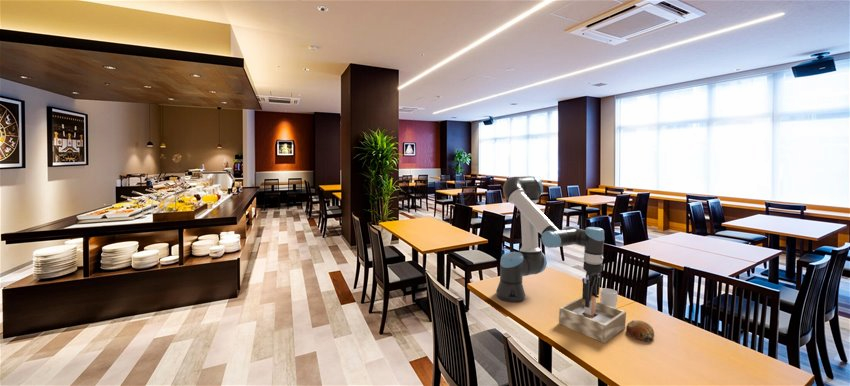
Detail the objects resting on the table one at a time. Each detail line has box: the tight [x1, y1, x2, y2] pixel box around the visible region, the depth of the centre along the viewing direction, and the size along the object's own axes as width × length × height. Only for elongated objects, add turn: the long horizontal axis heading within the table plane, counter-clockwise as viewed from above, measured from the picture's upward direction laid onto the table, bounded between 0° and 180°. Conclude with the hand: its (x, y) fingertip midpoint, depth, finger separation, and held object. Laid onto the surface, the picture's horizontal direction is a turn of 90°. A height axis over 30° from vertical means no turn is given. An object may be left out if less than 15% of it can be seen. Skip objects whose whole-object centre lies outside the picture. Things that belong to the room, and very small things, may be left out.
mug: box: [599, 287, 618, 308], centre depth 160 cm, size 10×7×12 cm, turn 116°
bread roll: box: [625, 319, 655, 342], centre depth 142 cm, size 10×10×8 cm
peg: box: [585, 295, 595, 318], centre depth 151 cm, size 4×4×12 cm
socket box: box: [558, 296, 627, 344], centre depth 149 cm, size 20×20×8 cm
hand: (589, 312), depth 151 cm, fingers closed on peg, 3 cm apart
